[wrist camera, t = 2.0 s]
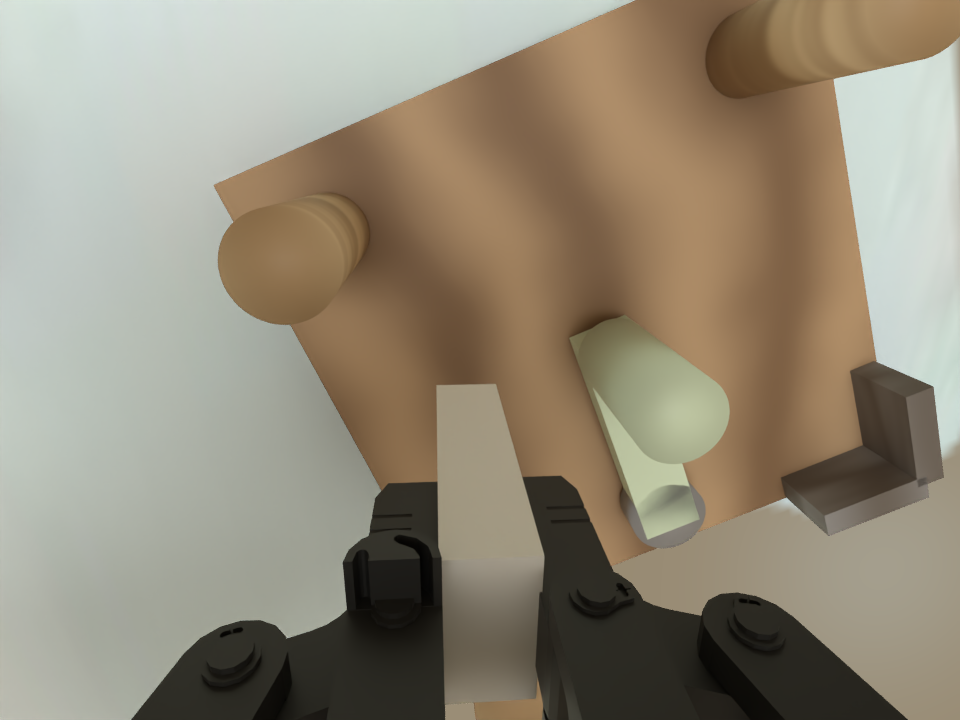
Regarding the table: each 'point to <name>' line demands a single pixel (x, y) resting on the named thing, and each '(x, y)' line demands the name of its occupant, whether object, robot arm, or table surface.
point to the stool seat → (609, 255)
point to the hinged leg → (652, 424)
